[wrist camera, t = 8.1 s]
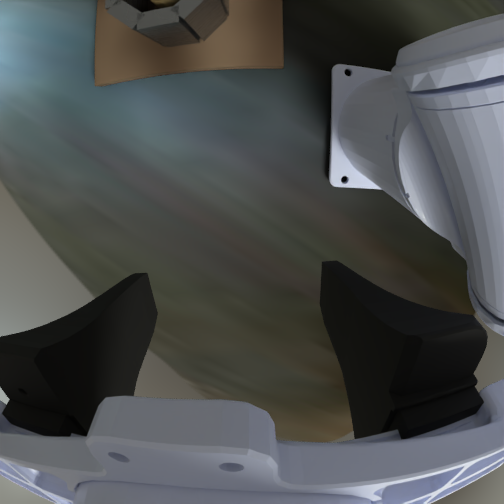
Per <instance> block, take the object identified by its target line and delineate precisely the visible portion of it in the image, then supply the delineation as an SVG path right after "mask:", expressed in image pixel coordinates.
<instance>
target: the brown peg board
mask: <svg viewBox="0 0 504 504" xmlns="http://www.w3.org/2000/svg"><path fill="white" fill-rule="evenodd" d="M150 1H152V2H153V3H154V4H155V10H156V9H161V8H166V7H172V6H174V5H175V4H176V3H178V2H179V1H180V0H150ZM107 11H108V10H106V9H105V0H98V4H97V16H96V32H95V86H101V87H102V86H107V85H111V84H116V83H121V82H126V81H131V80H136V79H142V78H148V77H155V76H162V75H169V74H177V73H186V72H196V71H208V70H224V69H283V67H284V53H283V9H282V0H229V16H227V20H226V21H225V22H224V23H223V24H222V25H221V26H220V27H218V28H217V29H216V30H215V31H214V32H213V33H212V34H211V35H210V36H209V37H208V38H207V39H206V40H205V41H203V40H202V39H200V43H197V44H189V45H182V46H175V47H166V46H162V45H160V44H158V43H157V42H155V41H153V40H151V39H149V38H148V37H146V36H144V35H142V34H140V33H138V32H136V31H135V30H133V29H131V28H130V27H128V26H127V25H125V24H124V23H122V22H121V21H119V20H118V19H116V18H115V17H113V16H112V15H110V14H109V13H107Z"/></svg>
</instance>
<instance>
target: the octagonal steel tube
mask: <svg viewBox="0 0 504 504" xmlns="http://www.w3.org/2000/svg"><path fill="white" fill-rule="evenodd" d="M105 9H106V10H108V11H107V13H109V14H110V15H112V16H113V17H115V18H116V19H118V20H119V21H121V22H122V23H124V24H125V25H127V26H128V27H130V28H131V29H133V30H135V31H136V32H138V33H140V34H142V35H144V36H146V37H148V38H149V39H151V40H153V41H155V42H157V43H158V44H160V45H162V46H166V47H175V46H182V45H189V44H197V43H200V39H202V40H203V41H205V40H206V39H207V38H208V37H209V36H210V35H211V34H212V33H213V32H214V31H215V30H216V29H217V28H218V27H220V26H221V25H222V24H223V23H224V22H225V21H226V20H227V16H229V0H180V1H179V2H178V3H176V4H175V5H174V6H172V7H166V8H161V9H156V10H155V4H154V3H153V2H152V1H150V0H105Z"/></svg>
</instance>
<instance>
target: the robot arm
mask: <svg viewBox="0 0 504 504" xmlns="http://www.w3.org/2000/svg"><path fill="white" fill-rule="evenodd" d="M345 69H348V70H349V71H350V72H351V75H350V76H346V75H345V72H344V71H345ZM343 176H347V181H346V182H341V178H342V177H343ZM329 182H330V183H331V184H332V185H333V186H335V187H350V188H368V189H382V190H384V191H385V192H386V193H388V194H389V195H390V196H392V197H393V198H394V199H396V200H397V201H398V202H399V203H401V204H402V205H403V206H404V207H406V208H407V209H408V210H409V211H411V212H412V213H413V214H414V215H416V216H417V217H418V218H419V219H421V220H422V221H423V222H424V223H425V224H426V225H427V226H428V227H430V228H431V229H432V230H433V231H435V232H436V233H438V234H439V235H441V236H443V237H444V238H446V239H448V240H449V241H451V244H452V246H453V248H454V249H455V250H456V251H457V252H458V253H459V254H460V255H461V256H462V257H463V258H464V259H465V260H466V261H467V266H468V271H467V279H468V291H469V297H470V300H471V303H472V305H473V308H474V309H475V311H476V313H477V314H478V316H479V317H480V318H481V319H482V320H483V322H484V323H485V324H486V325H488V326H489V327H490V328H491V329H492V330H494V331H495V332H497V333H499V334H501V335H503V336H504V14H499V15H495V16H491V17H487V18H483V19H479V20H476V21H472V22H469V23H465V24H462V25H459V26H456V27H453V28H450V29H447V30H444V31H441V32H439V33H436V34H433V35H431V36H428V37H426V38H423V39H421V40H418V41H416V42H414V43H411V44H409V45H407V46H405V47H403V48H401V49H400V50H399V51H398V55H397V59H396V65H395V66H394V67H393V68H392V70H391V72H389V71H383V70H378V69H372V68H365V67H359V66H351V65H343V64H337V65H335V66H334V67H333V68H332V98H331V141H330V164H329ZM320 307H321V311H322V316H323V320H324V324H325V326H326V329H327V332H328V334H329V337H330V340H331V342H332V345H333V347H334V350H335V353H336V355H337V358H338V361H339V363H340V366H341V370H342V373H343V377H344V382H345V386H346V390H347V395H348V400H349V406H350V411H351V417H352V423H353V430H354V437H355V439H354V440H349V441H343V442H337V443H321V442H297V441H282V440H276V438H275V425H274V422H273V420H272V419H271V417H270V415H269V414H268V412H266V411H264V410H262V409H260V408H258V407H256V406H254V405H252V404H249V403H247V402H241V401H233V400H225V399H216V400H199V399H165V398H149V397H137V396H134V391H135V386H136V381H137V378H138V374H139V371H140V368H141V365H142V363H143V360H144V357H145V355H146V352H147V349H148V346H149V344H150V341H151V338H152V335H153V333H154V328H155V324H156V319H157V314H158V312H157V309H156V305H155V301H154V297H153V294H152V290H151V286H150V282H149V278H148V274H147V273H135V274H132V275H130V276H128V277H127V278H125V279H124V280H122V281H121V282H119V283H118V284H116V285H115V286H113V287H112V288H110V289H109V290H107V291H106V292H105V293H103V294H102V295H100V296H99V297H97V298H95V299H94V300H92V301H91V302H89V303H88V304H86V305H85V306H83V307H81V308H79V309H78V310H76V311H74V312H72V313H70V314H68V315H66V316H64V317H62V318H60V319H57V320H55V321H53V322H50V323H48V324H46V325H43V326H40V327H37V328H34V329H31V330H28V331H24V332H20V333H16V334H11V335H7V336H1V337H0V387H1V388H2V390H3V391H4V392H5V394H6V395H7V397H8V398H9V399H10V400H9V402H8V403H7V405H6V404H4V403H3V402H2V401H0V475H2V476H3V477H5V478H7V479H9V480H10V481H12V482H14V483H16V484H18V485H20V486H22V487H23V488H25V489H27V490H29V491H31V492H33V493H35V494H37V495H39V496H41V497H43V498H45V499H47V500H49V501H51V502H53V503H55V504H430V503H432V502H434V501H436V500H439V499H441V498H443V497H444V496H447V495H449V494H451V493H453V492H455V491H457V490H458V489H460V488H462V487H464V486H466V485H468V484H470V483H472V482H473V481H475V480H477V479H479V478H481V477H482V476H484V475H486V474H488V473H489V472H491V471H493V470H494V469H496V468H497V467H499V466H501V465H502V464H503V463H504V379H502V380H500V381H497V382H495V383H493V384H491V385H488V386H486V387H485V388H483V389H482V390H481V391H480V392H479V393H478V391H477V389H476V388H475V385H476V384H477V379H476V377H475V375H474V374H473V373H474V371H475V370H476V368H477V366H478V364H479V362H480V360H481V358H482V356H483V353H484V351H485V348H486V345H487V338H488V336H487V333H486V330H485V329H484V328H483V327H482V325H481V324H480V323H479V322H478V321H477V320H476V318H475V317H474V316H473V315H467V314H460V313H452V312H446V311H442V310H438V309H433V308H430V307H426V306H423V305H420V304H417V303H414V302H411V301H408V300H406V299H403V298H401V297H398V296H396V295H394V294H392V293H390V292H388V291H386V290H384V289H382V288H380V287H378V286H377V285H375V284H373V283H371V282H370V281H368V280H366V279H365V278H363V277H362V276H360V275H359V274H357V273H355V272H354V271H352V270H351V269H349V268H348V267H346V266H345V265H343V264H342V263H340V262H338V261H326V262H322V274H321V293H320Z"/></svg>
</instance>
